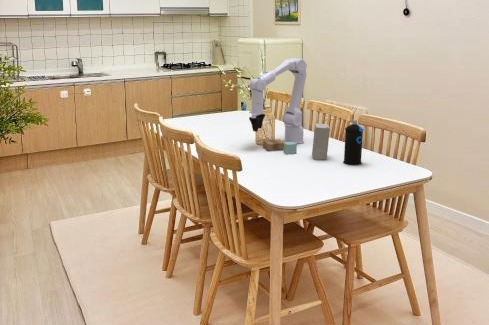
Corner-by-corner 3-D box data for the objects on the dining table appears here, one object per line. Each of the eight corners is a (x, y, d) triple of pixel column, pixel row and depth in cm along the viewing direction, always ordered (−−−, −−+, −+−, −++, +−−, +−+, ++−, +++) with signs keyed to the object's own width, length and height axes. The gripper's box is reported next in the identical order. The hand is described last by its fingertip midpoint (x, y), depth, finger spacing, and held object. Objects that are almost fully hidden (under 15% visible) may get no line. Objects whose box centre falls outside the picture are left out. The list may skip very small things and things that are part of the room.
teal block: (293, 151, 261) (293, 141, 260) (296, 154, 256) (296, 144, 255) (283, 152, 260) (283, 142, 259) (286, 154, 255) (286, 144, 254)
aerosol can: (341, 164, 239) (343, 120, 233) (345, 159, 246) (347, 117, 241) (359, 166, 236) (362, 122, 230) (362, 161, 243) (365, 118, 238)
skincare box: (311, 155, 254) (312, 123, 249) (326, 155, 254) (328, 123, 249) (313, 160, 246) (314, 126, 241) (328, 160, 245) (330, 126, 241)
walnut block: (279, 146, 272) (279, 139, 271) (285, 151, 263) (285, 143, 262) (263, 147, 270) (263, 140, 268) (268, 152, 261) (268, 144, 260)
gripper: (253, 100, 270) (253, 126, 273) (245, 105, 256) (245, 132, 260) (266, 101, 268) (266, 127, 271) (259, 105, 254) (259, 133, 258)
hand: (257, 129), depth 265 cm, fingers open, 7 cm apart
